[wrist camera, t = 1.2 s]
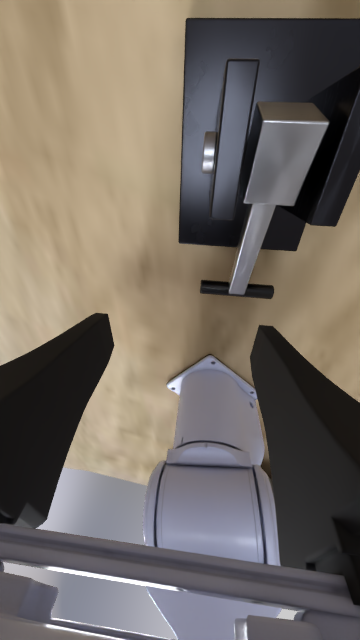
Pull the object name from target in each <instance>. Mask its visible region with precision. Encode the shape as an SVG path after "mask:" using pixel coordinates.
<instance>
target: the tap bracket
mask: <svg viewBox="0 0 360 640" xmlns="http://www.w3.org/2000/svg"><path fill="white" fill-rule="evenodd" d="M259 101H261V102H300V103H313V104H314V105H315V106H316V107H317V108H318V109H319V110H320V111H321V113H322V114H323V115H324V116H325V117H326V118H327V119H328V120H329V121H330V122H329V126H328V128H327V131H326V133H325V135H324V138H323V140H322V142H321V145H320V147H319V149H318V152H317V154H316V156H315V159H314V161H313V163H312V166H311V168H310V170H309V173H308V175H307V177H306V180H305V182H304V184H303V187H302V189H301V191H300V194H299V196H298V198H297V201H296V203H295V205H294V206H283V205H276V207H275V209H274V212H273V215H272V218H271V220H270V223H269V226H268V229H267V232H266V234H265V237H264V240H263V243H262V246H261V248H260V249H269V250H284V251H296V250H297V248H298V245H299V242H300V239H301V236H302V233H303V230H304V227H305V224H306V223H308V224H310V225H316V226H333V227H335V226H336V225H337V223H338V220H339V218H340V216H341V213H342V211H343V209H344V206H345V204H346V201H347V199H348V197H349V194H350V192H351V190H352V187H353V185H354V182H355V180H356V178H357V175H358V173H359V171H360V19H339V18H187V19H186V29H185V60H184V91H183V122H182V153H181V184H180V215H179V243H181V244H196V245H210V246H225V247H238V243H239V239H240V235H241V231H242V227H243V223H244V219H245V216H246V212H247V208H248V204H247V203H243V195H242V185H241V174H242V169H243V164H244V159H245V155H246V150H247V145H248V140H249V135H250V130H251V125H252V121H253V116H254V111H255V106H256V103H257V102H259Z"/></svg>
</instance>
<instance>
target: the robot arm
mask: <svg viewBox="0 0 360 640" xmlns="http://www.w3.org/2000/svg"><path fill="white" fill-rule="evenodd" d="M113 348H114V342H113V337H112V332H111V327H110V322H109V317H108V314H103V313H95V314H93V315H91V316H89V317H88V318H86V319H84V320H83V321H81V322H80V323H78V324H76V325H75V326H73V327H72V328H70V329H68V330H67V331H65V332H64V333H62V334H60V335H59V336H57V337H55V338H54V339H52V340H50V341H48V342H47V343H45V344H43V345H41V346H40V347H38V348H36V349H34V350H32V351H31V352H29V353H27V354H25V355H23V356H21V357H18V358H16V359H14V360H12V361H10V362H8V363H6V364H3V365H1V366H0V640H173V639H168V638H162V637H157V636H152V635H146V634H141V633H135V632H130V631H125V630H119V629H113V628H108V627H102V626H96V625H91V624H84V623H79V622H74V621H68V620H62V619H57V618H51V612H52V609H53V606H54V603H55V601H56V598H57V595H58V588H57V587H53V586H50V585H46V584H43V583H40V582H37V581H35V580H33V579H31V578H28V577H23V576H19V575H14V574H9V573H5V572H4V565H3V562H7V563H13V564H19V565H26V566H31V567H37V568H43V569H49V570H55V571H61V572H67V573H73V574H79V575H85V576H91V577H97V578H103V579H109V580H115V581H121V582H127V583H133V584H139V585H145V586H146V590H147V592H148V594H149V595H150V597H151V599H152V600H153V602H154V603H155V605H156V606H157V608H158V609H159V611H160V612H161V614H162V615H163V617H164V618H165V619H166V621H167V622H168V624H169V625H170V627H171V628H172V630H173V632H174V633H175V635H176V637H177V639H178V640H360V403H359V402H358V401H356V400H355V399H354V398H352V397H351V396H349V395H348V394H347V393H346V392H344V391H343V390H342V389H340V388H339V387H338V386H336V385H335V384H334V383H333V382H331V381H330V380H329V379H328V378H326V377H325V376H324V375H323V374H322V373H321V372H320V371H318V370H317V369H316V368H315V367H314V366H313V365H312V364H310V363H309V362H308V361H307V360H306V359H305V358H304V357H303V356H302V355H301V354H300V353H299V352H298V351H297V350H296V349H295V348H294V347H293V346H292V345H291V344H290V343H289V342H288V341H287V340H286V339H285V338H284V337H283V336H282V335H281V334H280V333H279V332H278V331H277V330H276V329H275V328H274V327H273V326H264V325H259V327H258V331H257V334H256V338H255V341H254V345H253V348H252V352H251V356H250V361H251V371H252V378H253V382H254V386H255V388H253V387H252V386H251V385H249V384H248V383H247V382H246V381H244V380H243V379H242V378H240V377H239V376H238V375H237V374H235V373H234V372H233V371H231V370H230V369H229V368H228V367H226V366H225V365H224V364H223V363H221V362H220V361H219V360H217V359H216V358H215V357H214V356H211V355H209V356H207V357H205V358H204V359H202V360H201V361H199V362H198V363H196V364H195V365H193V366H192V367H190V368H189V369H187V370H186V371H184V372H183V373H181V374H180V375H178V376H177V377H175V378H174V379H172V380H171V381H169V382H168V383H167V387H168V388H169V389H171V390H172V391H174V392H175V393H177V394H178V395H180V397H179V405H178V413H177V421H176V429H175V438H174V446H173V449H168V453H167V460H166V461H160V462H159V463H158V465H157V466H156V467H155V469H154V470H153V471H152V473H151V476H150V479H149V482H148V486H147V490H146V496H145V502H144V514H143V534H144V540H145V545H138V544H132V543H125V542H119V541H113V540H106V539H100V538H93V537H87V536H80V535H73V534H67V533H60V532H54V531H47V530H41V529H35V528H37V527H39V526H40V525H41V524H43V523H44V522H45V521H46V520H47V517H48V513H49V510H50V506H51V503H52V500H53V497H54V493H55V490H56V487H57V484H58V480H59V477H60V474H61V471H62V468H63V465H64V462H65V460H66V457H67V454H68V451H69V448H70V445H71V443H72V440H73V437H74V435H75V432H76V429H77V427H78V424H79V422H80V419H81V417H82V414H83V412H84V410H85V408H86V405H87V403H88V401H89V399H90V397H91V396H92V394H93V392H94V390H95V388H96V386H97V384H98V382H99V380H100V378H101V376H102V374H103V372H104V371H105V369H106V367H107V365H108V362H109V360H110V357H111V354H112V351H113ZM212 361H214V362H212ZM256 399H258V402H259V406H260V410H261V414H262V418H263V422H264V427H265V431H266V438H267V445H268V452H269V459H270V467H271V474H272V483H273V492H274V497H273V493H272V488H271V485H270V481H269V478H268V475H267V474H266V473H265V472H264V470H263V469H261V467H260V466H261V463H262V460H263V457H264V440H263V436H262V431H261V426H260V421H259V416H258V411H257V406H256V401H255V400H256ZM274 501H275V502H274ZM281 609H288V610H294V611H300V612H297V614H296V615H295V617H294V620H287V619H279V618H276V617H277V616H278V614H279V613H280V612H281Z"/></svg>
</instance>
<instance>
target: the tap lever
mask: <svg viewBox="0 0 360 640" xmlns="http://www.w3.org/2000/svg"><path fill="white" fill-rule="evenodd" d="M329 122H330V121H329V120H328V119H327V118H326V117H325V116H324V115H323V114H322V113H321V111H320V110H319V109H318V108H317V107H316V106H315V105H314V104H313V103H300V102H261V101H259V102H257V103H256V106H255V111H254V116H253V121H252V125H251V130H250V135H249V140H248V145H247V150H246V155H245V159H244V164H243V169H242V174H241V185H242V195H243V203H247V204H248V208H247V212H246V216H245V219H244V223H243V227H242V231H241V235H240V239H239V243H238V247H237V251H236V255H235V259H234V263H233V267H232V271H231V275H230V278H229V282H223V281H210V280H201V287H200V293H202V294H214V295H227V296H239V297H251V298H263V299H271V298H272V297H273V294H274V287H273V286H272V285H261V284H248V282H249V279H250V276H251V273H252V271H253V268H254V265H255V262H256V260H257V257H258V254H259V251H260V248H261V246H262V243H263V240H264V237H265V234H266V232H267V229H268V226H269V223H270V220H271V218H272V215H273V212H274V209H275V207H276V205H283V206H294V205H295V203H296V201H297V198H298V196H299V194H300V191H301V189H302V187H303V184H304V182H305V180H306V177H307V175H308V173H309V170H310V168H311V166H312V163H313V161H314V159H315V156H316V154H317V152H318V149H319V147H320V145H321V142H322V140H323V138H324V135H325V133H326V131H327V128H328V126H329Z"/></svg>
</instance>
